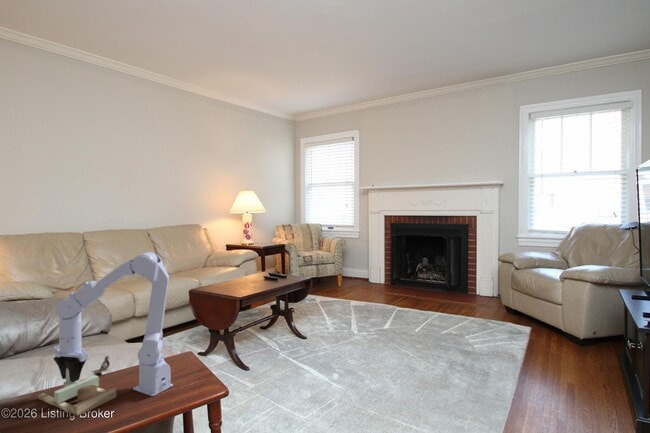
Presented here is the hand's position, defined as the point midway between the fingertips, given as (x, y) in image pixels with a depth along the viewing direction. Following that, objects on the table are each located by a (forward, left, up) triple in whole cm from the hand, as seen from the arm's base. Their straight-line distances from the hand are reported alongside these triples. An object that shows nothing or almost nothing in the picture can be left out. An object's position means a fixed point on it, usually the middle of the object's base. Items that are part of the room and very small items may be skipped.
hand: (70, 379), depth 115 cm
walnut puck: (-8, 0, -5) cm, 10 cm away
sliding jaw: (-2, 0, -4) cm, 4 cm away
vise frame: (-4, 0, -5) cm, 6 cm away
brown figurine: (+7, -15, -5) cm, 17 cm away
